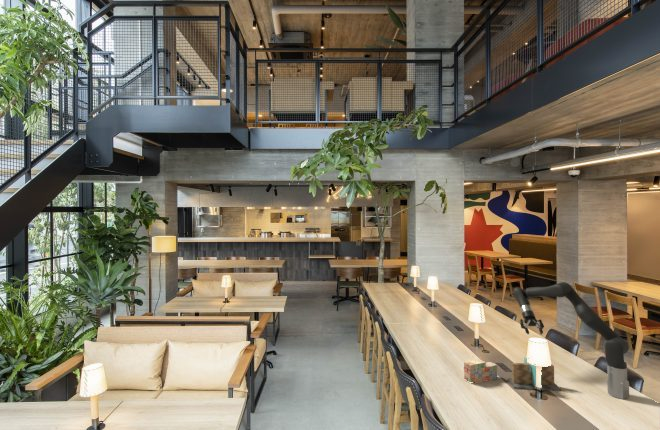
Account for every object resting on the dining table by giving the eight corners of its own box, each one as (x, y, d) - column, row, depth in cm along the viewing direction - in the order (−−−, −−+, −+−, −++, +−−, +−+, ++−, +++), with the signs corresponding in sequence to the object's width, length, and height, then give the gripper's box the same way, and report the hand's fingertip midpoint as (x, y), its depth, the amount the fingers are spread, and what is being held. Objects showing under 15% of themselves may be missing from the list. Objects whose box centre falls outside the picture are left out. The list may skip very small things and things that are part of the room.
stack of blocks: (490, 375, 246) (490, 357, 246) (497, 379, 240) (497, 360, 240) (464, 380, 240) (463, 361, 240) (470, 384, 234) (470, 364, 234)
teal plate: (524, 376, 241) (524, 357, 241) (528, 376, 241) (528, 358, 241) (537, 390, 221) (537, 370, 222) (541, 390, 221) (541, 370, 221)
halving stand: (551, 382, 235) (551, 361, 235) (560, 390, 223) (560, 369, 223) (507, 380, 239) (507, 359, 239) (514, 388, 227) (513, 367, 227)
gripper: (518, 309, 258) (525, 330, 246) (539, 310, 256) (547, 331, 244) (515, 315, 263) (522, 336, 251) (536, 315, 261) (544, 336, 249)
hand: (535, 333), depth 248 cm, fingers open, 8 cm apart
